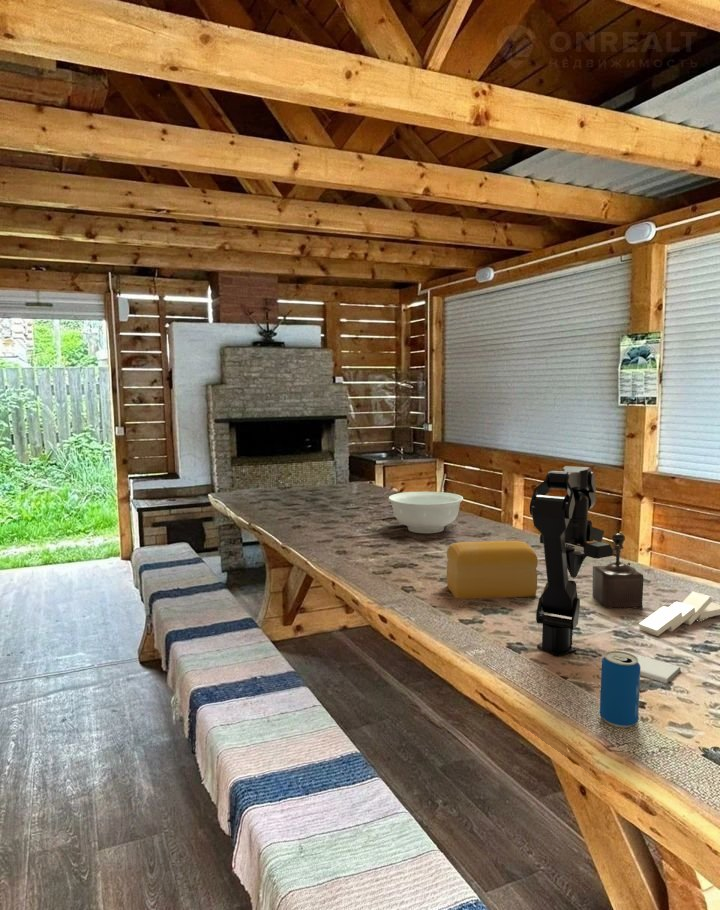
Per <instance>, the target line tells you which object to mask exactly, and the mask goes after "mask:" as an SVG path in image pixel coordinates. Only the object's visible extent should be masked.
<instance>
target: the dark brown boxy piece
mask: <svg viewBox="0 0 720 910" xmlns="http://www.w3.org/2000/svg"><path fill="white" fill-rule="evenodd" d="M611 540H612V542H613V543H614V546H613V554H615V555H616V556H615V557H616V558H615V559H616V560H615V562H611V563H608V564H607V565H595V566H594V565H593V566H592V594H591V595H592V598H593V599H594V600H595V601H597V602H598V603H599V604H601V605H602V606H603V607H605V608H606V609H642V608H643V607H644V606H643V597H644V595H643V594H644V575H643V574H642V573H641V572H639V571H637V570H636V568H634V567H633V566H630V565H631V562H628V563H627V564H626V563H623V562H622V561H620V559H621V557H620V554H621V552H622V551H621V550H624V547H623V544H624V542H625V540H626V537H625V535H624V534H623V533H619V532H618V533H613V534H612V536H611ZM641 607H642V608H641Z"/></svg>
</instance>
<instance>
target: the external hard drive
mask: <svg viewBox="0 0 720 910" xmlns="http://www.w3.org/2000/svg"><path fill="white" fill-rule="evenodd" d="M621 651H622V652H627V653H630V654H632V655H634V656H636V657H637V658H638V663H639V664H640V677H643V678H644V677H645V678H648V679H650V680H651V679H652V680H653V681H657V682H661V683H664V684H668V683H669V682H671V681H672V680H673V678H675V677H676V676H677V675H678V674H679V673H680V672H681V669H682V667H681V666H678V665H676V664H675V665H674V664H671V663H667V662H664V661H661V660H657V659H654V658H650V657H646V656H643V655H639V654H636V653H631V652H628V651H625V650H621Z"/></svg>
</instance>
